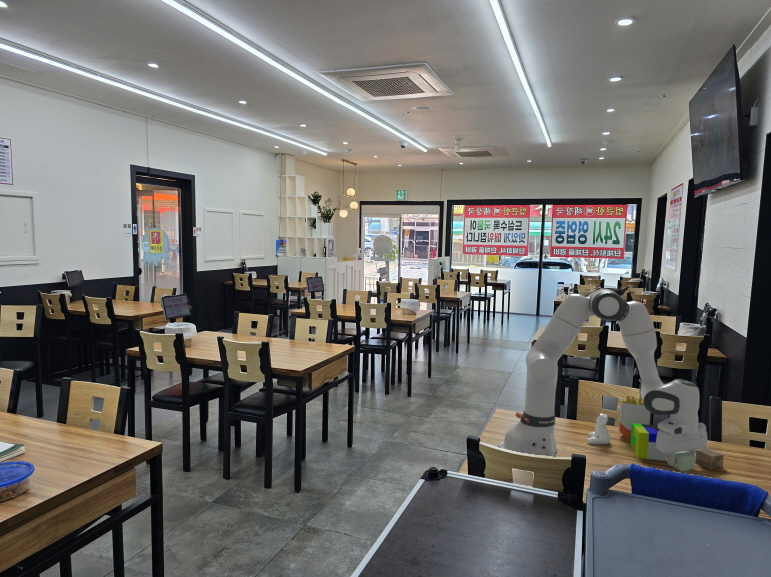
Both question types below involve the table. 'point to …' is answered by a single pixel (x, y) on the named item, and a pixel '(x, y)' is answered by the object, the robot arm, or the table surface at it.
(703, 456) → the brick
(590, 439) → the white creature statuette
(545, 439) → the robot arm
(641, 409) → the french fries container
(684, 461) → the brick
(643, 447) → the puzzle toy
